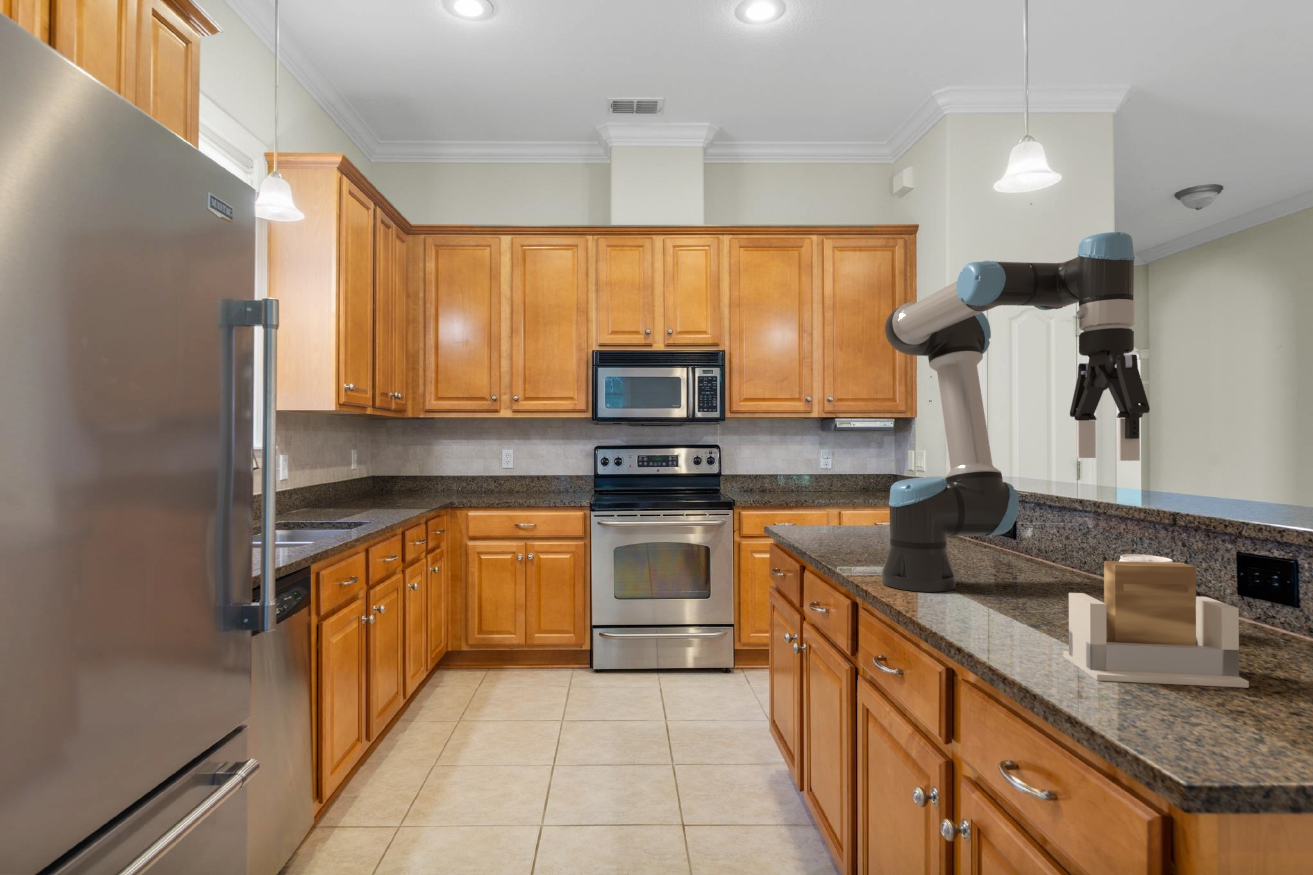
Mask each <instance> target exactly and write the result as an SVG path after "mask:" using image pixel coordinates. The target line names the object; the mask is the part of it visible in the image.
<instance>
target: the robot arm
mask: <svg viewBox="0 0 1313 875" xmlns="http://www.w3.org/2000/svg"><path fill="white" fill-rule="evenodd" d="M1077 249H1078V251H1077V257H1074V258H1072V259H1069V260H1067V261H1064V262H1025V261H1024V262H1022V261H1020V262H1019V261H993V260H983V261H974V262H973V261H972V262H968V264H966V265H965V266H963V268H962V270H961V271H960V272H959V274H958V277H957V281H955V282H953V283H951V284H948V285H947V286H945V287H943V288H941V289H939V290H938V291H936V292H934V293H931V294H930V295H929V296H925V298H922V299H921V300H919V301H917V302H915V301H910V302H906V303H903V304H902V305H900V306H898V307H897V308H895V309H894V310H892V311H891V312H890V314H889V315H888V316H887V319H886V320H885V321H886V322H885V325H884V334H885V338H886V339H887V341H888V343H889V344H890V345H891V347H892V348H893V349H895V350H897V352H900V353H902V354H905V355H909V356H920V357H923V356H924V357H927V359H928V365H929V367H930V369H932V370H933V371H935V372H937V373H936V374H937V380H938V381H937V382H938V387H939V395H940V400H941V409H942V416H943V422H944V429H945V436H946V444H947V451H948V458H949V465H950V470H949V472H948V474H946V476H945V477H943V476H926V477H914V478H906V479H901V480H898V481H896V482H893V484H892V485H891V487H890V490H889V501H888V505H889V550H888V553H887V556H886V559H885V562H884V565H883V568H882V570H881V583H882V584H883V585H885V586H886V587H890V588H894V589H897V590H903V591H904V590H905V591H911V592H921V593H922V592H924V593H926V592H927V593H928V592H929V593H930V592H931V593H933V592H934V593H937V592H938V593H939V592H946V591H952V590H954V589H956V587H957V586H956V585H957V582H956V579H957V577H956V574H955V572H954V568H953V565H952V563H951V560H950V557H949V554H948V548H947V547H948V546H947V542H948V541H947V539H948V538H947V537H973V536H975V537H977V536H978V537H983V538H984V537H985V538H986V537H990V536H997V535H999V536H1000V535H1003V534H1005V533H1008V532H1009V531H1010V530H1011V528H1013V526H1014V524H1015V522H1016V520H1017V518H1018V514H1019V510H1020V509H1019V507H1020V505H1019V504H1020V503H1019V502H1020V500H1019V495H1018V492H1017V490H1016V489H1015V487H1014V486H1013V485H1012V484H1011V483H1008V482H1007V481H1006V482H1005V481H1004V480H1003V475H1002V471H1001V470H999V469H998V468H996V467H995V466H994V465H993V460H992V459H993V458H992V454H991V446H990V441H989V434H988V427H987V421H986V416H985V414H986V413H985V408H984V403H983V402H984V401H983V397H982V389H981V384H980V383H981V382H980V376H979V371H978V369H979V368H978V365H979V364H980V363H981V361H982V360H983V358H984V356H983V355H984V354H985V353H986V352H987V351H988V348H989V346H990V343H991V342H990V339H991V338H992V333H991V332H992V331H991V325H990V322H989V319H988V318H987V316H986V314H985V313H984V312H986V311H989V310H991V309H994V308H996V307H999V306H1000V307H1001V306H1017V307H1018V306H1019V307H1020V306H1021V307H1022V306H1026V307H1027V306H1028V307H1029V306H1031V307H1032V306H1033V307H1035V308H1036V309H1038V310H1041V311H1049V310H1059V309H1063V308H1065V307H1068V306H1070V305H1074V304H1078V310H1077V311H1076V316H1077V317H1078V328H1079V330H1080V331H1081V332H1080V333H1079V335H1078V353H1079V355H1080V356H1083V357H1084V356H1085V357H1086V356H1087V357H1088V363H1086V362H1084V363H1083V362H1082V363H1081V362H1079V364H1078V365H1077V366H1078V369H1077V379H1076V382H1075V387H1074V393H1073V397H1072V402H1071V406H1070V411H1069V417H1071V418H1074V420H1075V421H1076V458H1077V459H1080V458H1081V459H1096V458H1097V456H1096V455H1097V453H1096V451H1097V448H1096V443H1097V442H1096V440H1097V439H1096V438H1097V437H1096V434H1097V433H1096V431H1097V430H1096V428H1097V426H1096V422H1097V417H1096V415H1095V413H1096V411H1097V408H1098V405H1099V404H1100V403H1099V402H1100V401H1101V398H1102V396H1103V393H1104V391H1107V390H1109V392H1110V394H1111V397H1112V398H1113V401H1114V404H1115V405H1116V407H1117V410H1118V411H1119V412H1118V413H1117V416H1116V418H1117V461H1122V462H1123V461H1128V462H1129V461H1130V462H1131V461H1132V462H1133V461H1136V462H1137V461H1139V462H1140V461H1141V460H1140V459H1141V458H1140V457H1141V455H1140V454H1141V453H1140V451H1141V449H1140V448H1141V447H1140V446H1141V443H1140V438H1141V437H1140V436H1141V433H1140V432H1141V430H1140V429H1141V428H1140V426H1141V424H1140V420H1141V419H1140V418H1142V417H1143V414H1148V413H1150V410H1151V409H1150V405H1149V401H1148V399H1147V398H1148V397H1147V395H1146V394H1147V393H1146V390H1145V388H1144V384H1143V381H1142V378H1141V374H1140V370H1139V366H1138V355H1137V354H1131V353H1132V352H1133V351H1134V349H1135V346H1134V345H1135V336H1134V335H1135V331H1134V330H1133V329H1132V328H1130V327H1133V326H1134V325H1135V301H1134V294H1135V293H1134V292H1135V291H1134V288H1135V284H1134V283H1135V282H1134V281H1135V280H1134V278H1135V276H1134V275H1135V274H1134V273H1135V272H1134V271H1135V270H1134V269H1135V268H1134V266H1135V265H1134V264H1135V263H1134V262H1135V259H1136V258H1135V255H1134V242H1133V238H1132V236H1131V235H1130V234H1129V233H1126V232H1121V231H1120V232H1119V231H1116V232H1115V231H1113V232H1102V233H1097V234H1092V235H1089V236H1087V237H1085V238H1083V239H1081V240H1080V242H1079V245H1078V248H1077ZM1082 331H1083V332H1082ZM1129 353H1130V354H1129Z"/></svg>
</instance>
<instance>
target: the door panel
mask: <svg viewBox="0 0 1313 875" xmlns="http://www.w3.org/2000/svg"><path fill="white" fill-rule="evenodd" d="M1196 597H1197V567H1196V566H1194V565H1191V564H1187V563H1183V562H1172V563H1167V562H1122V561H1119V560H1116V561H1115V560H1113V561H1112V560H1111V561H1110V560H1104V561H1103V603H1105V604H1106V642H1113V643H1139V644H1164V645H1189V646H1196Z"/></svg>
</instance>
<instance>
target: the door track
mask: <svg viewBox="0 0 1313 875" xmlns="http://www.w3.org/2000/svg"><path fill="white" fill-rule="evenodd" d="M1239 609H1240V608H1239V607H1237V606H1233V605H1232V604H1227V603H1225V602H1222V601H1219V600H1217V599H1213V598H1211V597H1209V596H1196V646H1189V645H1164V644H1139V643H1113V642H1106V604H1105V603H1104V601H1101V600H1098V599H1097V598H1095V597H1093V596H1091V595H1089V594H1087V593H1085V592H1068V650H1063V652H1062V654H1063V657H1064V658H1065V659H1067V660H1068V661H1069V662H1071V663H1072V664H1073V665H1075V666H1076V667H1078V668H1079V669H1080V670H1082V671H1083V672H1084V673H1085V674H1088V675H1089V676H1090V677H1092V678H1093V679H1094V680H1095V681H1099V682H1100V681H1101V682H1102V681H1103V682H1121V683H1123V682H1124V683H1141V684H1144V683H1145V684H1146V683H1147V684H1165V685H1181V686H1183V685H1184V686H1187V685H1188V686H1206V687H1224V688H1225V687H1226V688H1246V689H1247V688H1249V687H1250V685H1249V684H1250V682H1249V681H1248V680H1246V679H1245V678H1244V677H1241V676H1240V654H1239V653H1240V652H1239V651H1240V648H1239V647H1240V643H1239V642H1240V632H1239V629H1240V625H1239V620H1240V619H1239V618H1240V617H1239V616H1240V615H1239V613H1240V612H1239V611H1240V610H1239Z"/></svg>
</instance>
